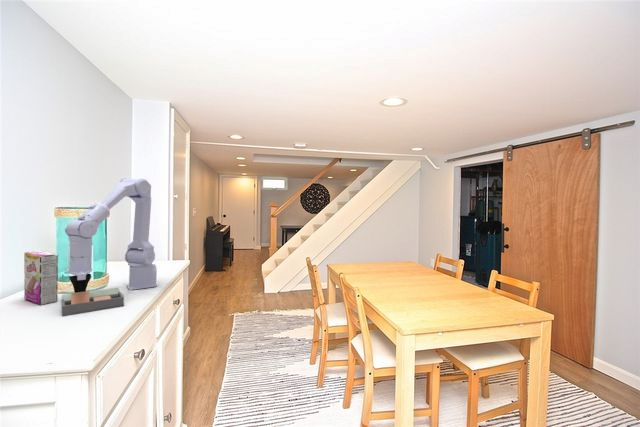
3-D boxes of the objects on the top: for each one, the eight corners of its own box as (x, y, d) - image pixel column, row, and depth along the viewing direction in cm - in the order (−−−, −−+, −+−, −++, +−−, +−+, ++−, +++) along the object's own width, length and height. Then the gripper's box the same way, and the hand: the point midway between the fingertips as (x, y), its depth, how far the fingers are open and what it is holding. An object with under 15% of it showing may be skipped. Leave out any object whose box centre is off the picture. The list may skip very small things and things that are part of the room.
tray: (119, 299, 104) (119, 290, 104) (123, 306, 98) (123, 297, 98) (61, 308, 94) (61, 298, 94) (62, 316, 88) (62, 306, 88)
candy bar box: (22, 300, 100) (23, 252, 100) (41, 296, 104) (42, 250, 104) (39, 306, 95) (40, 255, 95) (58, 301, 100) (59, 253, 99)
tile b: (88, 294, 98) (89, 290, 97) (89, 306, 96) (89, 303, 95) (70, 296, 95) (71, 293, 94) (71, 309, 93) (71, 305, 92)
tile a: (109, 301, 101) (109, 295, 101) (111, 304, 98) (111, 298, 98) (93, 303, 98) (93, 297, 98) (94, 307, 95) (94, 301, 95)
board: (117, 292, 112) (117, 287, 111) (121, 298, 105) (121, 293, 105) (61, 300, 101) (61, 294, 101) (61, 307, 95) (61, 301, 94)
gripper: (64, 253, 99) (63, 293, 100) (64, 261, 89) (64, 305, 89) (90, 252, 104) (89, 290, 105) (94, 259, 93) (93, 301, 94)
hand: (79, 297), depth 97 cm, fingers closed
